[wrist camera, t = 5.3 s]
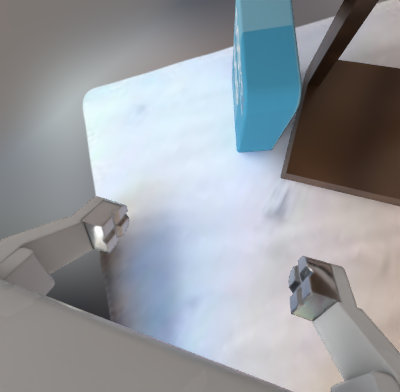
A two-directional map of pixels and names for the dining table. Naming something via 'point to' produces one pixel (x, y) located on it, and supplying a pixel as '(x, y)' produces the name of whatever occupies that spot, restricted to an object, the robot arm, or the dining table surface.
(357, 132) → the shelf
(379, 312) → the dining table surface
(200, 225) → the dining table surface
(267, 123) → the data package
